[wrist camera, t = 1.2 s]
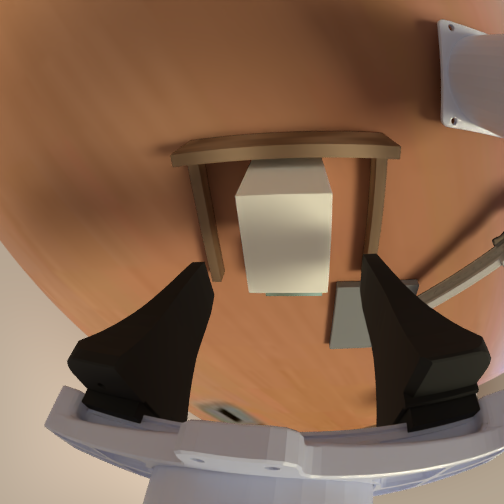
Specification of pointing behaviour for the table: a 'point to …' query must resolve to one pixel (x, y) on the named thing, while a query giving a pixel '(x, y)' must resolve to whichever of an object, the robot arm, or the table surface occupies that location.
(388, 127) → the table surface
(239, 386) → the table surface
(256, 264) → the cream tapered prism
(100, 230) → the table surface
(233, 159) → the frame
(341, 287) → the mat
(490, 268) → the caliper
